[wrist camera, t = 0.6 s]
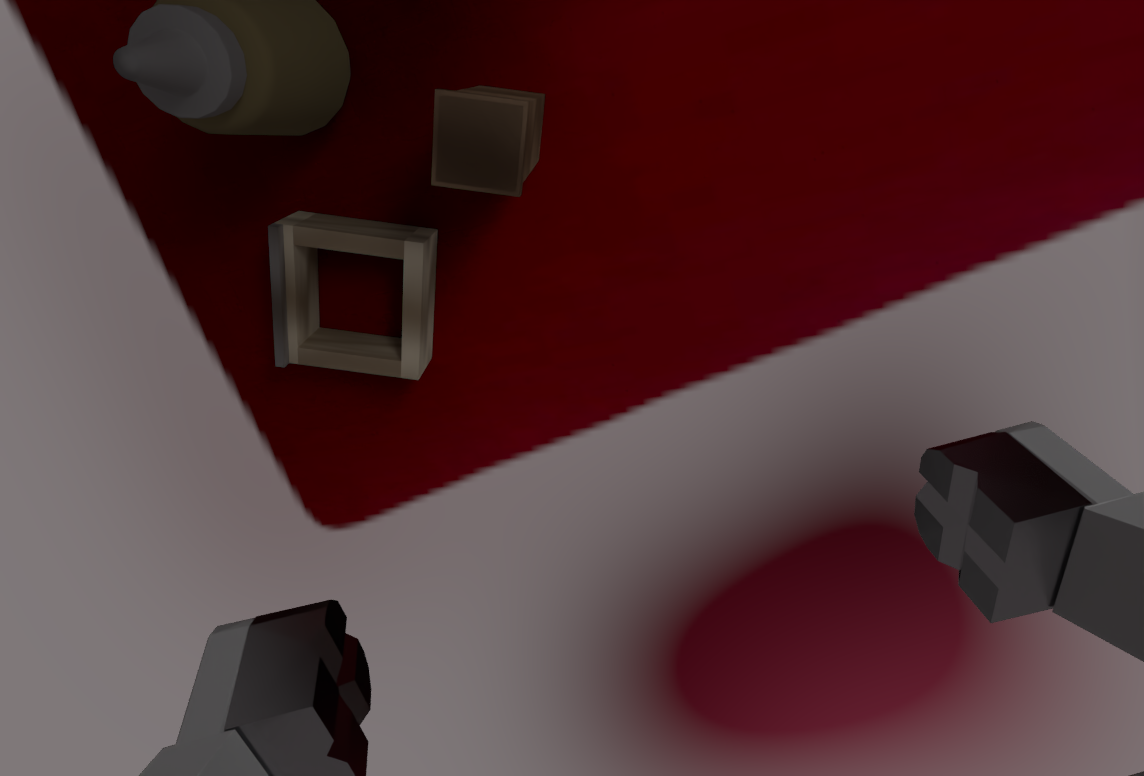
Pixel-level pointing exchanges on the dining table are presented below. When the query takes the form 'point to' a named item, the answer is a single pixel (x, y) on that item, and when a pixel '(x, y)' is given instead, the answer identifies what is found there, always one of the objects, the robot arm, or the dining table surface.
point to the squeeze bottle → (239, 64)
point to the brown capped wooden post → (486, 138)
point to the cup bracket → (300, 295)
